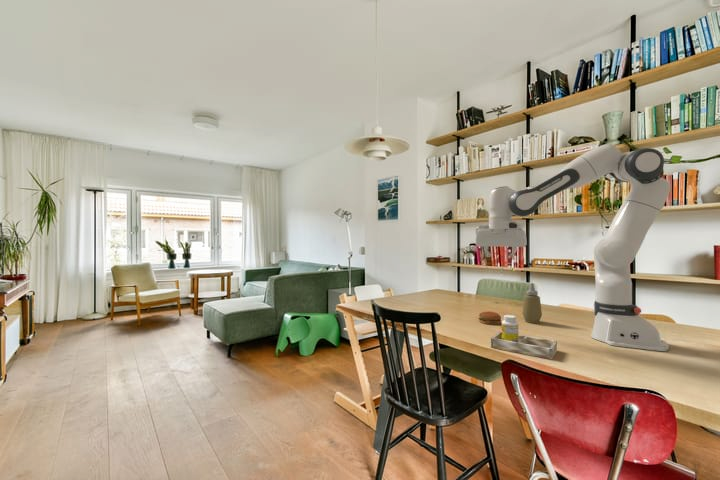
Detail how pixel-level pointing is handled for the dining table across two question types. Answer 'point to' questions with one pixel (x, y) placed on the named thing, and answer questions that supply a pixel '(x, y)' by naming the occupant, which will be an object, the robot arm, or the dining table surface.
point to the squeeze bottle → (532, 306)
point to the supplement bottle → (510, 329)
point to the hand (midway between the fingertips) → (500, 257)
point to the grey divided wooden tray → (526, 345)
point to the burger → (490, 318)
